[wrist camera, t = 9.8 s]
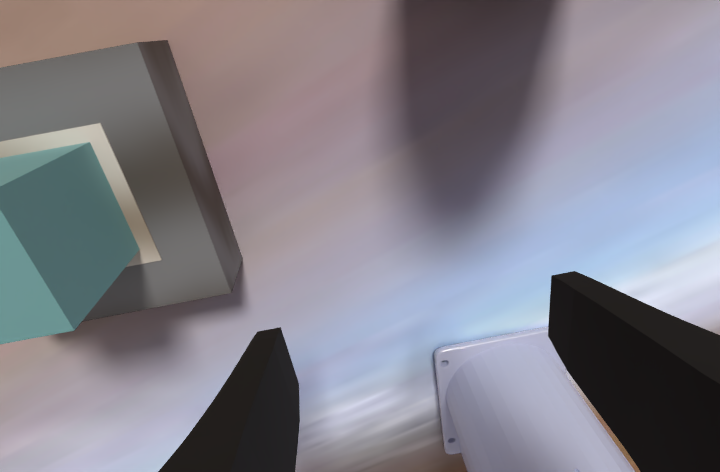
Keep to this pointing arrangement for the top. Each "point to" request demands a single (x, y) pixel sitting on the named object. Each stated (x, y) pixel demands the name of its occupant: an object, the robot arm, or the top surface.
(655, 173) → the top surface
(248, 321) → the top surface
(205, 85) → the top surface
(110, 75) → the plinth
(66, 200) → the teal block
